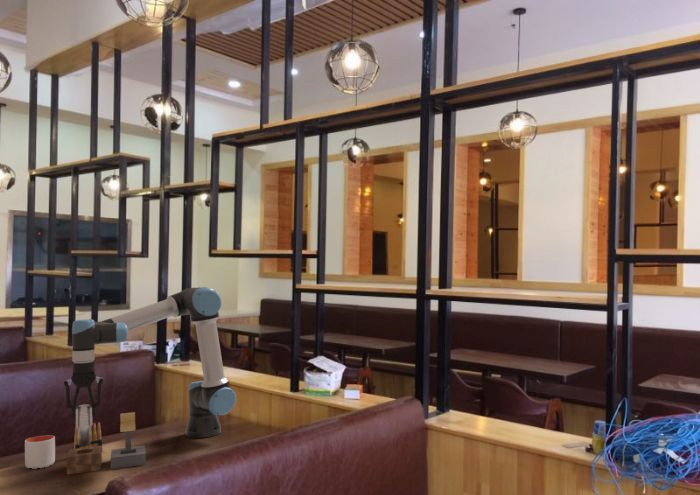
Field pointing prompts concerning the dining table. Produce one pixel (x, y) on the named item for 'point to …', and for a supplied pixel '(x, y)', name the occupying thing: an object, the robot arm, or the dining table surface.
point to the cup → (39, 451)
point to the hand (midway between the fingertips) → (84, 425)
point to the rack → (84, 460)
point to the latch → (127, 422)
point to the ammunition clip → (94, 437)
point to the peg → (83, 425)
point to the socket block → (128, 455)
